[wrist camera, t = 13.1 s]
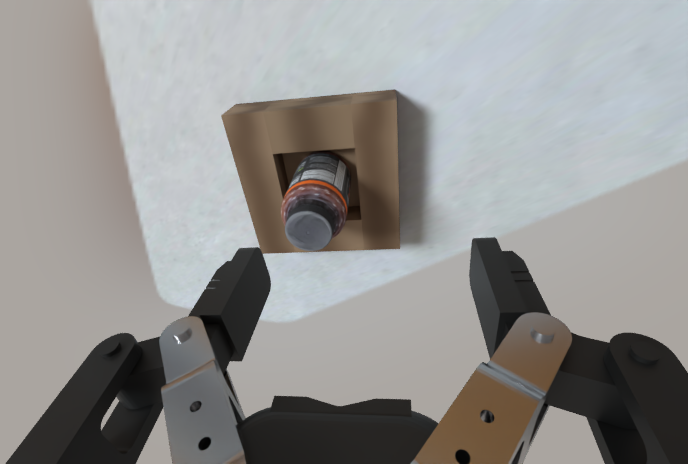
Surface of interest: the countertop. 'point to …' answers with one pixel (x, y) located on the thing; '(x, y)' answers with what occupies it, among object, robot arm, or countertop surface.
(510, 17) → the countertop surface
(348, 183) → the supplement bottle
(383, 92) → the walnut holder
